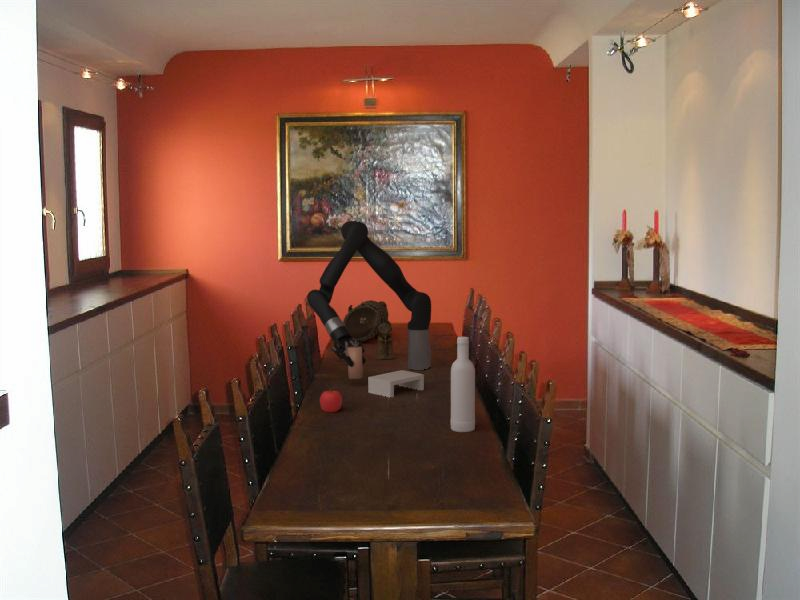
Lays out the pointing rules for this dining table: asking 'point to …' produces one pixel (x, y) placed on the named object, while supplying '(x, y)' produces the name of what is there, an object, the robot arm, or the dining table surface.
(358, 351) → the tan rounded-top cylinder
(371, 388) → the white channel block
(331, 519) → the dining table surface
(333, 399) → the apple
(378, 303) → the basket
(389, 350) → the brown carved figurine
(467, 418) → the bottle
